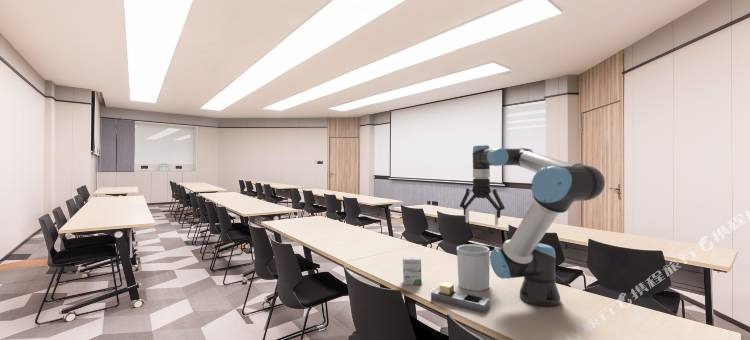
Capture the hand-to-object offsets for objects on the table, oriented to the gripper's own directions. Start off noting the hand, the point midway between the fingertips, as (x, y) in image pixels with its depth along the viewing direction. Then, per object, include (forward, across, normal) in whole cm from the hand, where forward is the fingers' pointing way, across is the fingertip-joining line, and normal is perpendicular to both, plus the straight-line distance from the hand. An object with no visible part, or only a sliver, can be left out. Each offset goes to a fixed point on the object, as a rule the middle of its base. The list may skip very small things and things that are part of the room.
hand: (481, 223), depth 154 cm
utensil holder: (+29, +3, +4) cm, 29 cm away
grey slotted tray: (+29, +2, +26) cm, 39 cm away
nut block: (+28, +7, +26) cm, 39 cm away
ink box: (+29, +28, +16) cm, 44 cm away
